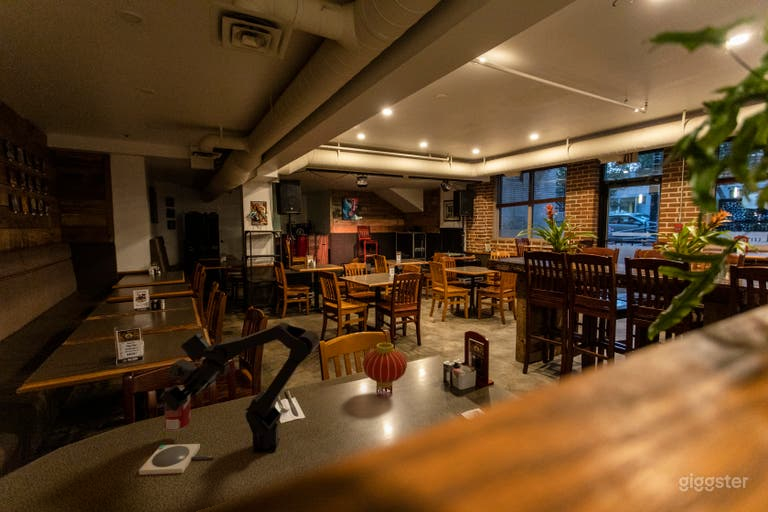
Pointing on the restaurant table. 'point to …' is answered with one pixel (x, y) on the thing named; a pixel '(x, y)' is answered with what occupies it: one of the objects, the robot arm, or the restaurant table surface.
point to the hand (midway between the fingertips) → (173, 404)
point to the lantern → (384, 366)
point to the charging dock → (171, 459)
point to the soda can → (178, 416)
